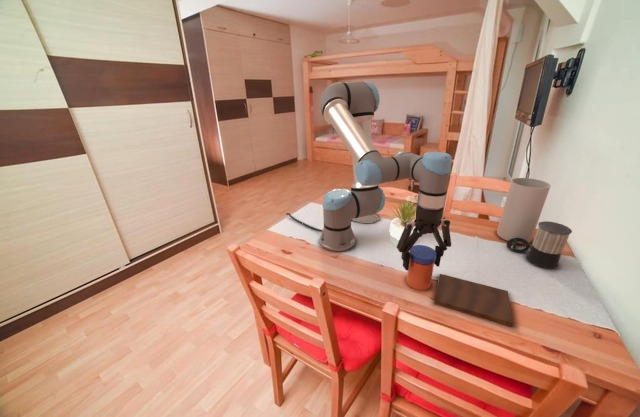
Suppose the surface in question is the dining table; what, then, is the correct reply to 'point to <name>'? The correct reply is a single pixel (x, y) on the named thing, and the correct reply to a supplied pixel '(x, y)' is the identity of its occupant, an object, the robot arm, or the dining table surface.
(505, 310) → the board
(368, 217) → the grey speckled mound
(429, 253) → the jar lid
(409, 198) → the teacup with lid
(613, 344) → the dining table surface
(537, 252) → the milk frother
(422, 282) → the jar
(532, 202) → the cylinder vase
